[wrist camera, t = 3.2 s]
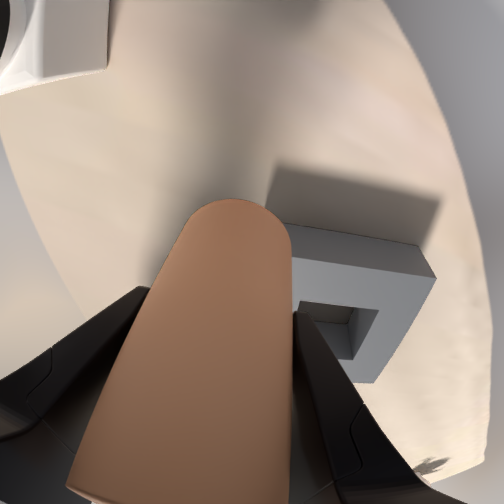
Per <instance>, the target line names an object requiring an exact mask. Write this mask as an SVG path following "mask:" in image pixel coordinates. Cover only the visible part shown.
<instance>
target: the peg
mask: <svg viewBox="0 0 504 504" xmlns="http://www.w3.org/2000/svg"><path fill="white" fill-rule="evenodd" d="M292 381H293V302H292V251H291V241H290V238H289V235H288V232H287V230H286V228H285V227H284V225H283V224H282V222H281V221H280V220H279V219H278V218H277V217H276V216H275V215H274V214H273V213H271V212H270V211H269V210H267V209H266V208H264V207H262V206H260V205H258V204H256V203H253V202H250V201H246V200H241V199H223V200H218V201H214V202H211V203H209V204H207V205H204V206H203V207H201V208H200V209H198V210H197V211H196V212H195V213H193V214H192V216H191V217H190V218H189V219H188V221H187V222H186V224H185V226H184V228H183V229H182V231H181V233H180V235H179V237H178V238H177V240H176V242H175V244H174V246H173V247H172V249H171V251H170V253H169V255H168V257H167V258H166V260H165V262H164V264H163V266H162V268H161V270H160V272H159V273H158V275H157V277H156V279H155V281H154V283H153V285H152V287H151V289H150V291H149V293H148V295H147V297H146V299H145V301H144V302H143V304H142V306H141V308H140V310H139V312H138V314H137V316H136V319H135V321H134V323H133V325H132V327H131V329H130V331H129V333H128V335H127V337H126V339H125V341H124V343H123V345H122V348H121V350H120V352H119V354H118V356H117V358H116V361H115V363H114V365H113V367H112V369H111V372H110V374H109V376H108V378H107V381H106V383H105V385H104V387H103V390H102V392H101V394H100V397H99V399H98V401H97V404H96V406H95V408H94V411H93V413H92V416H91V418H90V421H89V423H88V425H87V428H86V430H85V433H84V436H83V438H82V441H81V443H80V446H79V448H78V451H77V454H76V456H75V459H74V462H73V465H72V467H71V470H70V473H69V476H68V479H67V481H66V484H65V486H66V487H67V488H68V489H70V490H71V491H73V492H75V493H76V494H78V495H80V496H82V497H84V498H86V499H88V500H90V501H92V502H94V503H96V504H288V500H289V481H290V459H291V430H292Z"/></svg>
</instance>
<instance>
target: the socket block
mask: <svg viewBox="0 0 504 504" xmlns="http://www.w3.org/2000/svg"><path fill="white" fill-rule="evenodd" d="M282 224H283V225H284V227H285V228H286V230H287V232H288V235H289V238H290V241H291V251H292V302H293V312H294V311H297V309H298V306H299V303H300V301H308V302H316V303H324V304H332V305H340V306H349V307H355V308H354V310H353V312H352V315H351V317H350V319H349V321H348V324H347V325H345V324H336V323H326V322H318V321H314V322H315V324H316V325H317V327H318V329H319V330H320V332H321V333H322V335H323V337H324V338H325V340H326V341H327V343H328V345H329V346H330V348H331V350H332V351H333V353H334V354H335V356H336V358H337V359H338V361H339V362H340V364H341V366H342V367H343V369H344V370H345V372H346V374H347V375H348V377H349V379H350V380H351V382H352V383H374V382H375V380H376V379H377V377H378V376H379V375H380V373H381V372H382V370H383V369H384V367H385V366H386V364H387V363H388V361H389V360H390V358H391V357H392V355H393V354H394V352H395V351H396V349H397V347H398V346H399V344H400V343H401V341H402V340H403V338H404V336H405V335H406V333H407V331H408V330H409V328H410V326H411V325H412V323H413V321H414V320H415V318H416V316H417V314H418V313H419V311H420V309H421V307H422V305H423V304H424V302H425V300H426V298H427V296H428V294H429V293H430V291H431V289H432V287H433V285H434V283H435V281H436V279H437V278H436V276H435V274H434V273H433V271H432V269H431V267H430V266H429V264H428V262H427V261H426V259H425V257H424V255H423V254H422V252H421V250H420V249H419V247H418V246H414V245H409V244H404V243H398V242H393V241H387V240H382V239H376V238H370V237H365V236H359V235H353V234H347V233H342V232H336V231H330V230H323V229H317V228H311V227H305V226H299V225H292V224H286V223H282Z"/></svg>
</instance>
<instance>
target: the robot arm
mask: <svg viewBox="0 0 504 504" xmlns="http://www.w3.org/2000/svg"><path fill="white" fill-rule="evenodd" d="M150 289H151V288H149V287H144V286H138V287H136V288H135V289H133V290H132V291H130V292H129V293H127V294H126V295H124V296H123V297H121V298H120V299H118V300H117V301H115V302H114V303H113V304H111V305H110V306H108V307H107V308H105V309H104V310H102V311H101V312H100V313H98V314H97V315H95V316H94V317H92V318H91V319H89V320H88V321H87V322H85V323H84V324H82V325H81V326H80V327H78V328H77V329H76V330H74V331H72V332H71V333H70V334H68V335H67V336H66V337H64V338H63V339H61V340H60V341H58V342H57V343H56V344H54V345H53V346H52V348H51V347H50V348H49V349H47V350H46V351H45V352H43V353H42V354H40V355H39V356H37V357H36V358H35V359H33V360H32V361H30V362H29V363H27V364H26V365H24V366H22V367H21V368H19V369H18V370H16V371H14V372H13V373H11V374H9V375H8V376H6V377H4V378H3V379H1V380H0V504H91V503H92V501H90V500H88V499H86V498H84V497H82V496H80V495H78V494H76V493H75V492H73V491H71V490H70V489H68V488H67V487H66V486H65V484H66V481H67V479H68V476H69V473H70V470H71V467H72V465H73V462H74V459H75V456H76V454H77V451H78V448H79V446H80V443H81V441H82V438H83V436H84V433H85V430H86V428H87V425H88V423H89V421H90V418H91V416H92V413H93V411H94V408H95V406H96V404H97V401H98V399H99V397H100V394H101V392H102V390H103V387H104V385H105V383H106V381H107V378H108V376H109V374H110V372H111V369H112V367H113V365H114V363H115V361H116V358H117V356H118V354H119V352H120V350H121V348H122V345H123V343H124V341H125V339H126V337H127V335H128V333H129V331H130V329H131V327H132V325H133V323H134V321H135V319H136V316H137V314H138V312H139V310H140V308H141V306H142V304H143V302H144V301H145V299H146V297H147V295H148V293H149V291H150ZM363 403H364V401H363V400H362V398H361V397H360V395H359V393H358V392H357V390H356V388H355V387H354V385H353V383H352V382H351V380H350V379H349V377H348V375H347V374H346V372H345V370H344V369H343V367H342V366H341V364H340V362H339V361H338V359H337V358H336V356H335V354H334V353H333V351H332V350H331V348H330V346H329V345H328V343H327V341H326V340H325V338H324V337H323V335H322V333H321V332H320V330H319V329H318V327H317V325H316V324H315V322H314V321H313V319H312V317H311V316H310V314H309V313H308V312H303V311H294V312H293V381H292V430H291V459H290V481H289V500H288V504H467V503H464V502H462V501H459V500H457V499H455V498H452V497H450V496H448V495H445V494H443V493H441V492H439V491H436V490H434V489H432V488H431V487H429V486H428V485H427V484H425V483H424V482H423V481H422V480H421V479H420V478H419V477H418V476H417V475H416V474H415V472H414V471H413V470H412V469H411V467H410V466H409V465H408V464H407V462H406V461H405V460H404V458H403V457H402V456H401V455H400V453H399V452H398V451H397V450H396V448H395V447H394V446H393V444H392V443H391V442H390V440H389V439H388V438H387V436H386V435H385V434H384V432H383V431H382V430H381V428H380V427H379V425H378V424H377V422H376V421H375V419H374V417H373V416H372V414H371V413H370V411H369V409H368V408H367V406H366V405H365V404H363Z"/></svg>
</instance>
